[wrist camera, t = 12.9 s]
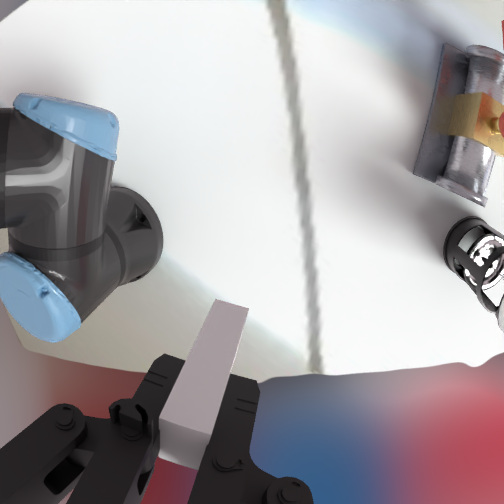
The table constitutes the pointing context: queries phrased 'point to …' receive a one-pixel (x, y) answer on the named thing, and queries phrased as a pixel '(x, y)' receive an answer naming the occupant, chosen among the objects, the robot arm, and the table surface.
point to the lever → (503, 118)
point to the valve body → (464, 122)
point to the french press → (478, 261)
